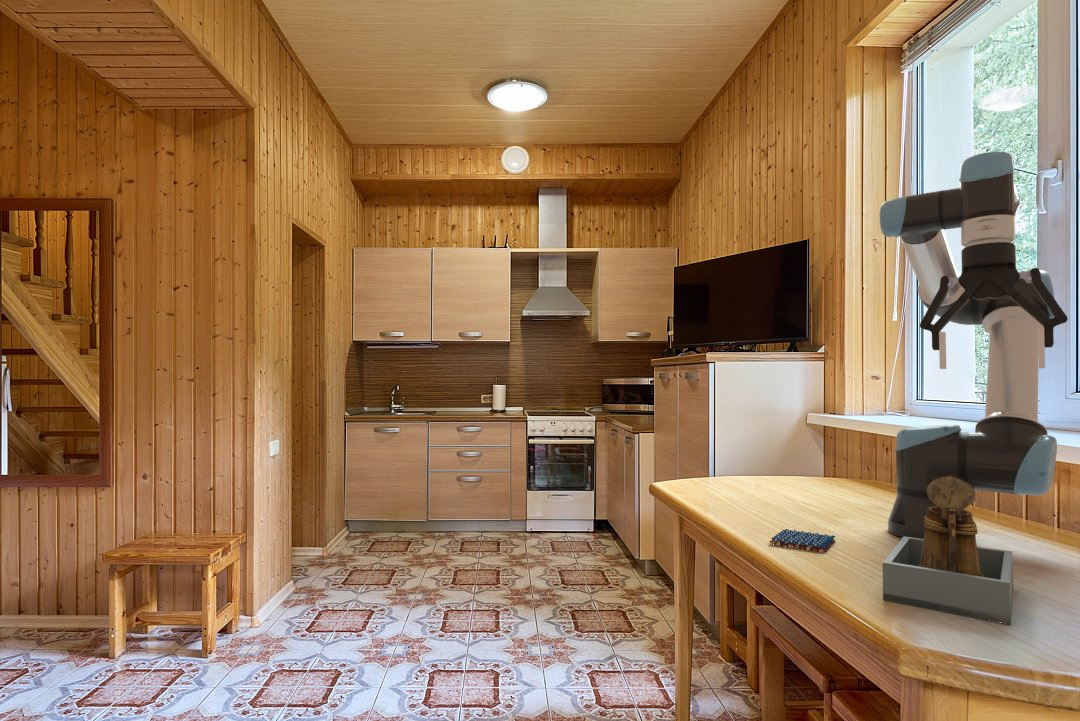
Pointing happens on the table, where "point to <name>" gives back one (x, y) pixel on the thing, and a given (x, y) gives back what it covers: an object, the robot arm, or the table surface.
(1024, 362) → the robot arm
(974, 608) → the bin
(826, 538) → the woven mat
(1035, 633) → the table surface
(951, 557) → the wooden mug
